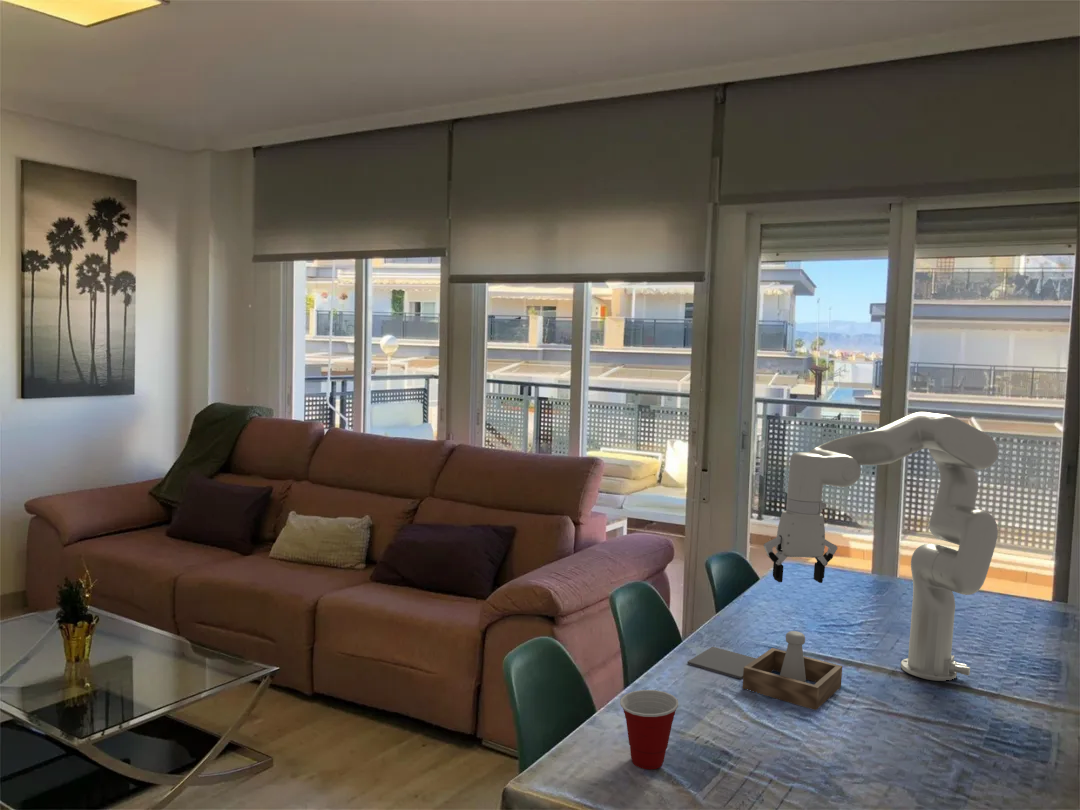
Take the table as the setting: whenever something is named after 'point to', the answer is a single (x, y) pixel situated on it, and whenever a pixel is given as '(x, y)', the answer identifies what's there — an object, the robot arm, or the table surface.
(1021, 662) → the table surface
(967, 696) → the table surface
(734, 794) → the table surface
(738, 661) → the coaster
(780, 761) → the table surface
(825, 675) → the frame
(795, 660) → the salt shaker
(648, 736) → the plastic cup
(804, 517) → the robot arm
